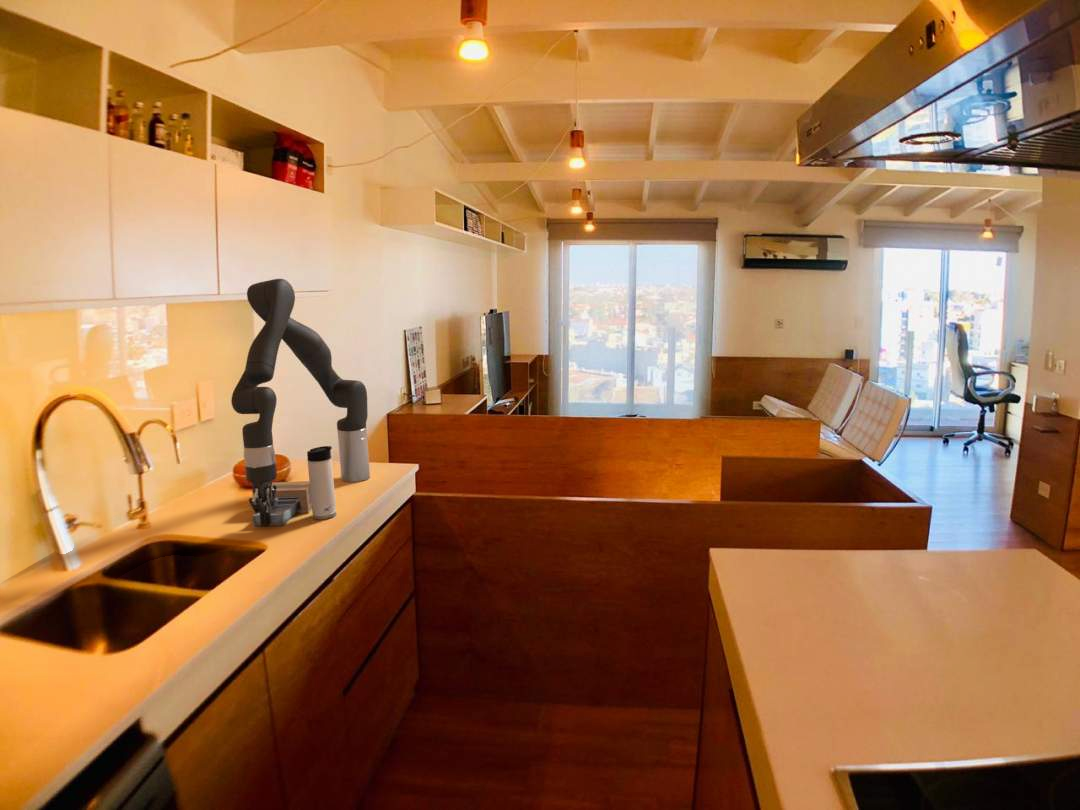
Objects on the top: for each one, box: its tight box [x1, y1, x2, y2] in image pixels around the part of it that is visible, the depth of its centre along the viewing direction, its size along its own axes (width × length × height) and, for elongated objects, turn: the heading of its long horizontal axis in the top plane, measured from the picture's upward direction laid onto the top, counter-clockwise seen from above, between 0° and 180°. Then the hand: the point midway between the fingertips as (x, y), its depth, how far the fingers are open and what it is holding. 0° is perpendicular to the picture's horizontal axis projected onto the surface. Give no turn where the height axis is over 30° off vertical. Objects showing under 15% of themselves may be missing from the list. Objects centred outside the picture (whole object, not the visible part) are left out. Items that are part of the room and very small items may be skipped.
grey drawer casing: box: [254, 480, 312, 515], centre depth 183 cm, size 8×15×7 cm, turn 92°
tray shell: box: [252, 498, 301, 527], centre depth 178 cm, size 16×8×3 cm, turn 2°
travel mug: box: [306, 445, 337, 520], centre depth 175 cm, size 6×7×20 cm
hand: (266, 525), depth 168 cm, fingers closed
